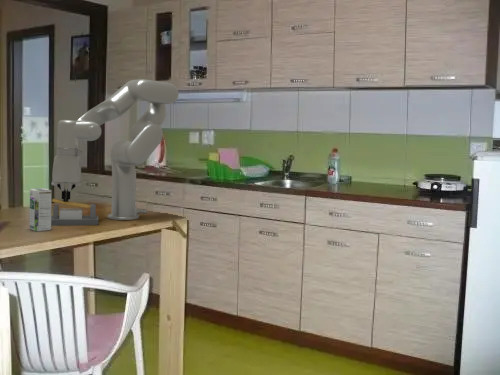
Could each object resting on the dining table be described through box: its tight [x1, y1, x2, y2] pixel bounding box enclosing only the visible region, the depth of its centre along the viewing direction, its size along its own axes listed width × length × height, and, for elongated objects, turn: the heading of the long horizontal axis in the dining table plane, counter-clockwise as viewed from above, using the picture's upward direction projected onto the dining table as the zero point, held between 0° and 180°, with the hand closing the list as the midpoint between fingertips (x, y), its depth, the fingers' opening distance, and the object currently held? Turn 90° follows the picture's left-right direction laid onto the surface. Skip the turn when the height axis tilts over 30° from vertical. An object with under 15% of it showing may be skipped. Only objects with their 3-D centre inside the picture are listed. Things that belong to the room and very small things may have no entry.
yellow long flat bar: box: [51, 198, 94, 209], centre depth 204 cm, size 16×3×1 cm, turn 106°
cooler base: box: [51, 203, 99, 226], centre depth 205 cm, size 18×10×7 cm, turn 106°
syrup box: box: [29, 187, 52, 232], centre depth 189 cm, size 6×6×14 cm
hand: (65, 201), depth 203 cm, fingers closed
